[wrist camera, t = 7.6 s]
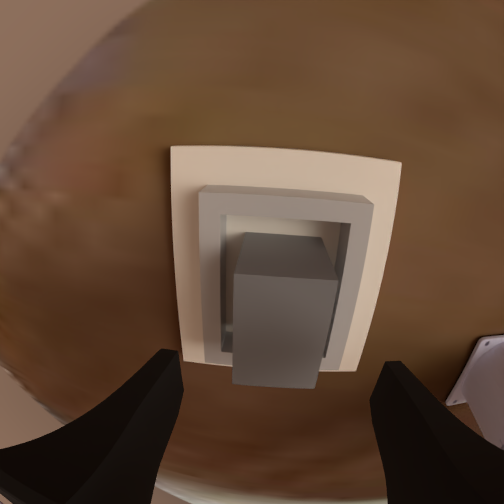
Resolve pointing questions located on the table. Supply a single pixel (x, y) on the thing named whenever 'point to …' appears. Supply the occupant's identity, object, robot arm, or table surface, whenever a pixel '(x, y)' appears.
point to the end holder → (277, 222)
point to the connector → (281, 310)
